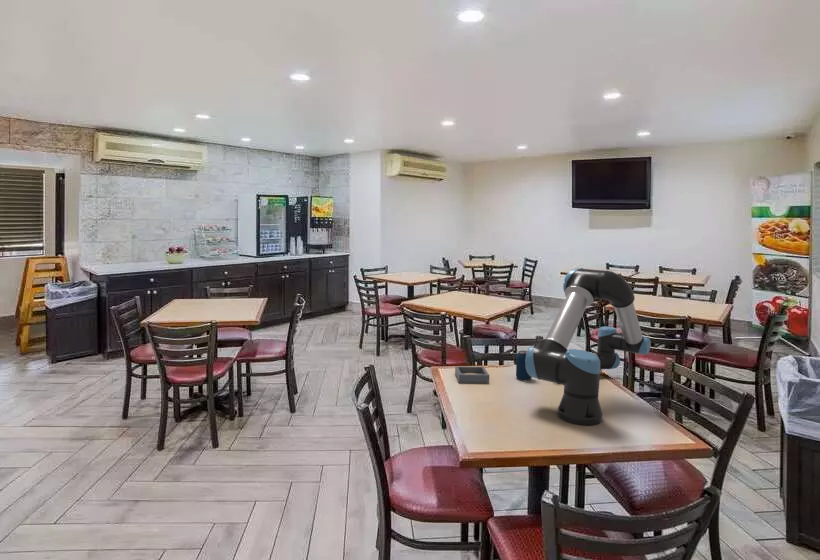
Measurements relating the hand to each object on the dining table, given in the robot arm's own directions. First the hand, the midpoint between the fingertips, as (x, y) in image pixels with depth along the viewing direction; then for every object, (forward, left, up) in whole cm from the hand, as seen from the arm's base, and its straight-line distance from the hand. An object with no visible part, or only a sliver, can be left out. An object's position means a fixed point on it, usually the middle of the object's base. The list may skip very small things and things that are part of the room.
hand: (543, 363), depth 224 cm
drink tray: (-22, +24, -6) cm, 33 cm away
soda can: (-7, +6, -7) cm, 11 cm away
